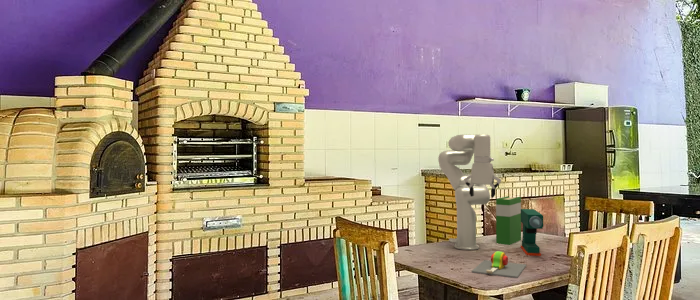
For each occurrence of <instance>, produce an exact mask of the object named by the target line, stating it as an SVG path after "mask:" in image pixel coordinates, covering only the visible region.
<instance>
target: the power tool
mask: <svg viewBox="0 0 700 300" xmlns="http://www.w3.org/2000/svg"><path fill="white" fill-rule="evenodd" d="M521 224H522V236H521V245H520V249H521V250H522V251H523V252H524V253H525V255H526V256H534V257H535V256H536V257H542V253H541V251H540V246H539V245H538V244H537V241H536V240H537V234H538V233H537V231H538V230H542V229H543V228H544V214H542V213H540V212H539V211H538V210H536V209H534V208H521ZM537 229H538V230H537Z"/></svg>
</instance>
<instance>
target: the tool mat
mask: <svg viewBox="0 0 700 300" xmlns="http://www.w3.org/2000/svg"><path fill="white" fill-rule="evenodd" d="M526 267H527V264H524V263H515V262H508V264H507V265H505V266H504V267H503V268H502V269H500V270H499V269H496V270H495V271H494V272H492V274H490V273H487V272H486V270H491V269H492V262H491V259H490V260H488V259H483V260H482V261H481V262H480V263H479V264H478V265H477V266H475V267H474V268H473V269H472V270H471V273H472V274H473V273H474V274H480V273H481V275H488V274H489V276H496V275H498V277H504V278H514V279H518V278H519V277H520V275H521V274H522V273H523V271H524V270H525V268H526Z"/></svg>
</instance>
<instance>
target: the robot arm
mask: <svg viewBox="0 0 700 300" xmlns="http://www.w3.org/2000/svg"><path fill="white" fill-rule="evenodd" d="M448 148H450V149H448V150H443V151H441V152H440V153H439V155H438V158H437V159H438V164H439V168H440V170H441V172H442V173H443V174H444V175H445V176H446V177H447V179H448V182H449V183H450V185H451V187H452V189H453V190H454V191H455V192H454V198H455V205H456V238H451V237H449V238H448V241H449V243H452V244H454V245H453V248H455V249H456V250H463V251H475V250H476V251H477V250H479V249H480V245H478V244H477V214H476V211H475V209H474V208H473V207H472V206H475V205H476V206H477V205H478V206H479V205H481V206H482V205H486V204H488V203H489V202H490V200H491V198H495V196H496V188H498V187H499V186H500V184H501V182H502V179H501V178H499V177H497V176H496V175H495V174H494V165H493V163H491V162H493V161H494V158H493V157H492V156H491V135H489V134H488V133H487V134H486V133H485V134H483V133H482V134H480V133H479V134H474V133H473V134H470V133H469V134H467V133H466V134H465V133H464V134H457V135H454V136H452V137H450V138H449V140H448ZM472 159H473V162H472V164H471V165H472V166H471V170H470V171H471V173H470V174H469V173H468V174H465V173H463V171H462V170H461V168H460V167H458V166H467V165H469V164H470V163H471V161H472ZM495 181H496V183H495ZM487 185H488V186H490V187H491V189H490V190H489V188H488V187H487Z"/></svg>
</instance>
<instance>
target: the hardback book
mask: <svg viewBox="0 0 700 300" xmlns="http://www.w3.org/2000/svg"><path fill="white" fill-rule="evenodd" d="M521 209H522V196H517V197H510V196H503V197H499V198H495V236H496V237H495V241H496V242H495V244H497V243H498V245H500V244H501V245H505V246H512V245H513V244H516V243H517V242H519V241H522V222H521Z"/></svg>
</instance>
